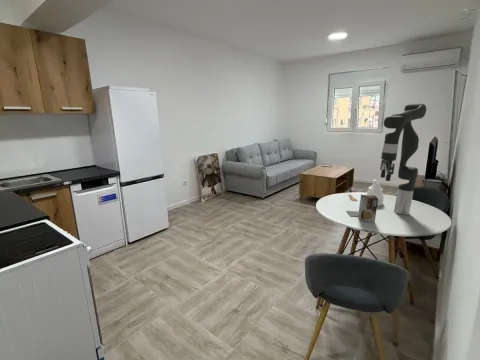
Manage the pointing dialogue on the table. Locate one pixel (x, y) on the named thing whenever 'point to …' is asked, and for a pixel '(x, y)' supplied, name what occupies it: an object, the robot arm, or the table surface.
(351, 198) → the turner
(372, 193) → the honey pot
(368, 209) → the coffee box
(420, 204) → the table surface
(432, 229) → the table surface
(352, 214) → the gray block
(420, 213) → the table surface
